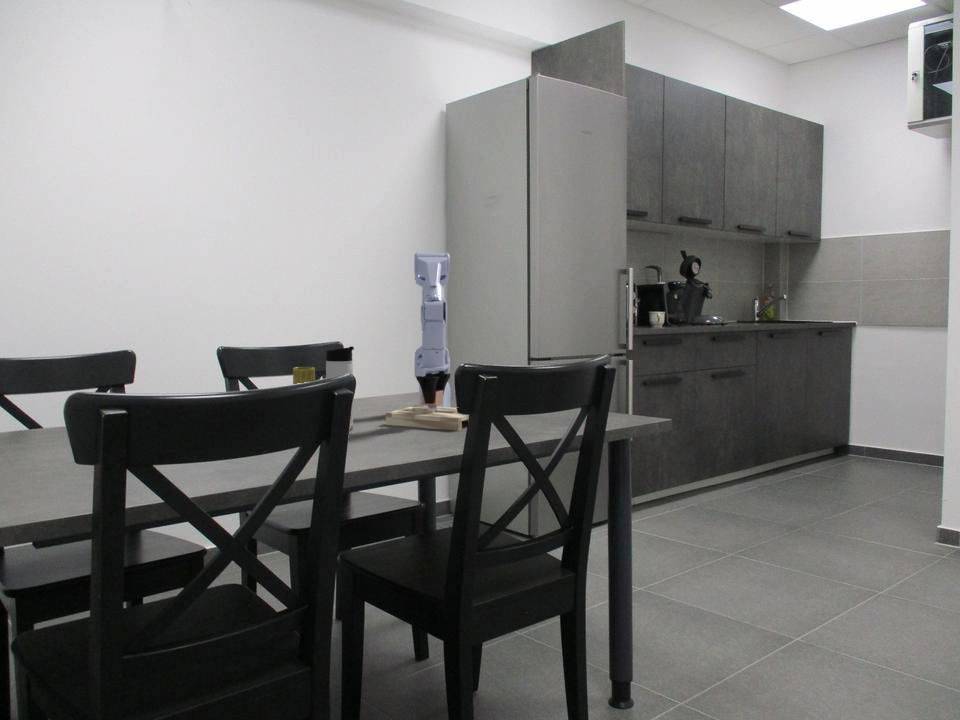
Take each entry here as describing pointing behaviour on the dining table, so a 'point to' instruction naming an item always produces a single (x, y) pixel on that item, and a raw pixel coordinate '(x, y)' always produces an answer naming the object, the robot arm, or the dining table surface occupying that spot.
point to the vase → (303, 374)
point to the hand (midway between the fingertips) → (433, 402)
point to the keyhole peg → (437, 401)
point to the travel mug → (340, 365)
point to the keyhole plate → (426, 418)
